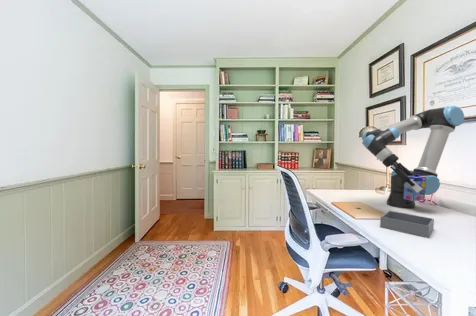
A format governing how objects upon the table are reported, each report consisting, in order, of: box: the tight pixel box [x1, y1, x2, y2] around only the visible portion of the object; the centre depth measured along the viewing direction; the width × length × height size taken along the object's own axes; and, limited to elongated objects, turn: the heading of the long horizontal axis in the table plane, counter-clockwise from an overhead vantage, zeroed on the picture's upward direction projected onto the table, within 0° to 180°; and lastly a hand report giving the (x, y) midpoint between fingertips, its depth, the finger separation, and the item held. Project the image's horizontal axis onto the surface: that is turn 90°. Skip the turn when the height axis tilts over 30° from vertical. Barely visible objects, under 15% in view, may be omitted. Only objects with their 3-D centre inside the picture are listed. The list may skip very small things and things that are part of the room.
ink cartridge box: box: [403, 172, 427, 202], centre depth 120 cm, size 10×6×14 cm, turn 113°
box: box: [379, 210, 435, 239], centre depth 109 cm, size 15×18×5 cm
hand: (421, 189), depth 118 cm, fingers closed on ink cartridge box, 11 cm apart
